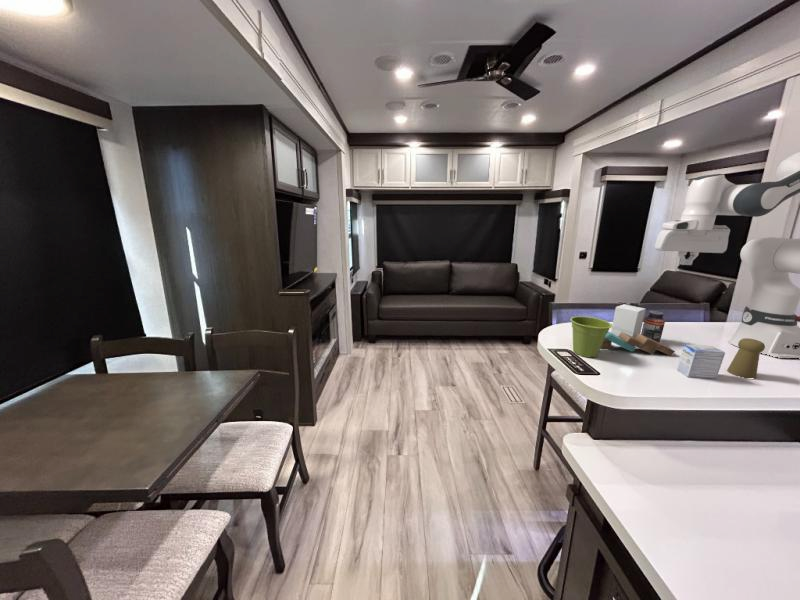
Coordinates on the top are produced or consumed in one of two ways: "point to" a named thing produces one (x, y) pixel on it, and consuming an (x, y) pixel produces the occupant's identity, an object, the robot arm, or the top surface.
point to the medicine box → (700, 361)
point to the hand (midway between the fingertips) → (685, 264)
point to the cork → (746, 358)
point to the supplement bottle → (653, 325)
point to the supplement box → (628, 320)
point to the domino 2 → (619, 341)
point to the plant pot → (588, 335)
